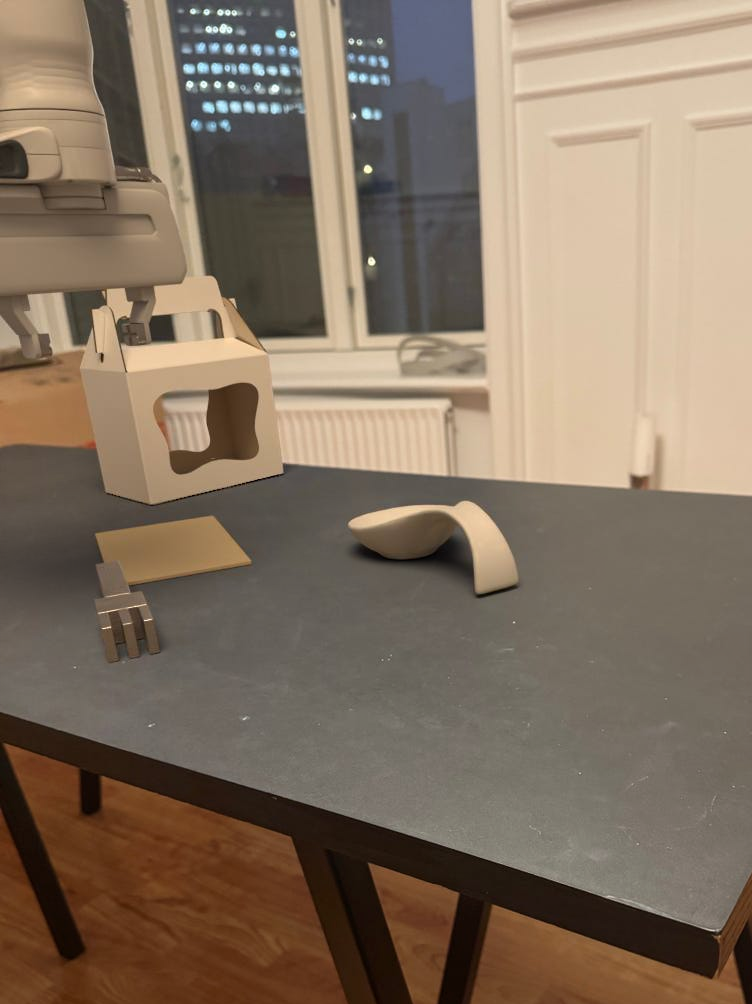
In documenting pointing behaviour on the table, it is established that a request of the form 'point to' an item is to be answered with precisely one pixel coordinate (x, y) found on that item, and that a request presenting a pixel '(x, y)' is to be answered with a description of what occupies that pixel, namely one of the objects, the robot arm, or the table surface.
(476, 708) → the table surface
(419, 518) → the spoon rest
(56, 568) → the table surface
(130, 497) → the gable box
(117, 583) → the fork
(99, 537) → the place mat
